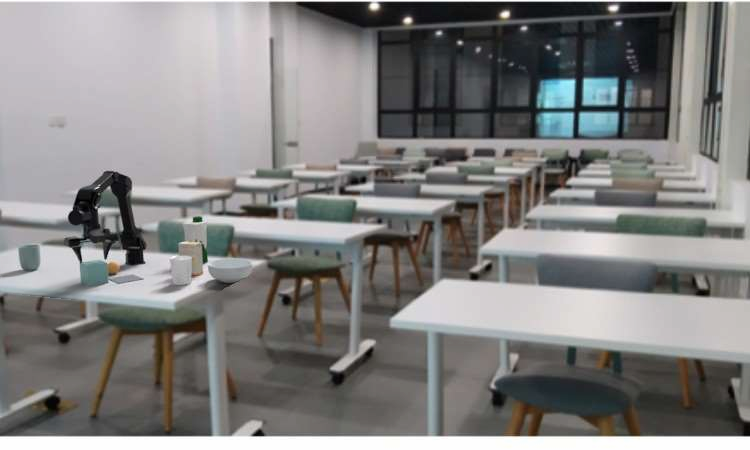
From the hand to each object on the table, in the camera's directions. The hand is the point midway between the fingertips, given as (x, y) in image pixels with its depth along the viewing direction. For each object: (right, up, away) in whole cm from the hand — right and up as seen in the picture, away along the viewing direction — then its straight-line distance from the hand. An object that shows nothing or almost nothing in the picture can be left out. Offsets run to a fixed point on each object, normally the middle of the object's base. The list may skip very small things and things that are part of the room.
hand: (93, 261), depth 252 cm
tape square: (+10, -7, +7) cm, 14 cm away
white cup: (+34, -9, +1) cm, 35 cm away
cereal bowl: (+52, -8, +5) cm, 53 cm away
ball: (+2, -4, +15) cm, 15 cm away
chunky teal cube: (0, -8, +1) cm, 8 cm away
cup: (-36, -5, +22) cm, 42 cm away
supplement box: (+34, -6, +15) cm, 37 cm away
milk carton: (+30, -3, +36) cm, 47 cm away
